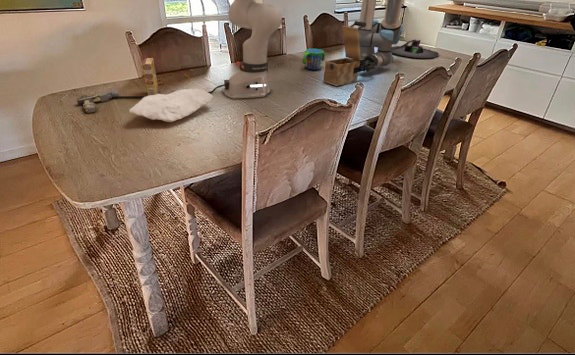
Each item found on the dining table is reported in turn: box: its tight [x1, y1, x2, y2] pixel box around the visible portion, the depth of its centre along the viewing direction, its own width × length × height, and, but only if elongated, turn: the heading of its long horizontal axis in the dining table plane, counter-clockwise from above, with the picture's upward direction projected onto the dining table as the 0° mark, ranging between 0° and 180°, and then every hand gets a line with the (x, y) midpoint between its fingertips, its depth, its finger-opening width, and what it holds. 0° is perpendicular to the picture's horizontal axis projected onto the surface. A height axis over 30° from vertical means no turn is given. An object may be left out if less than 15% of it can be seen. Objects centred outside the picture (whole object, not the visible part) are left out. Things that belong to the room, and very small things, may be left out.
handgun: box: [76, 89, 120, 114], centre depth 155 cm, size 3×18×15 cm
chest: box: [322, 57, 360, 87], centre depth 190 cm, size 17×9×10 cm, turn 133°
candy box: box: [141, 57, 160, 96], centre depth 163 cm, size 9×4×15 cm, turn 13°
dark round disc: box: [391, 38, 439, 59], centre depth 252 cm, size 35×35×9 cm
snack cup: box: [302, 48, 326, 71], centre depth 209 cm, size 16×10×10 cm
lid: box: [341, 20, 366, 61], centre depth 187 cm, size 17×9×10 cm
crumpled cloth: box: [129, 88, 214, 123], centre depth 147 cm, size 24×35×9 cm
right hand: (346, 68), depth 192 cm, fingers closed on chest, 9 cm apart
